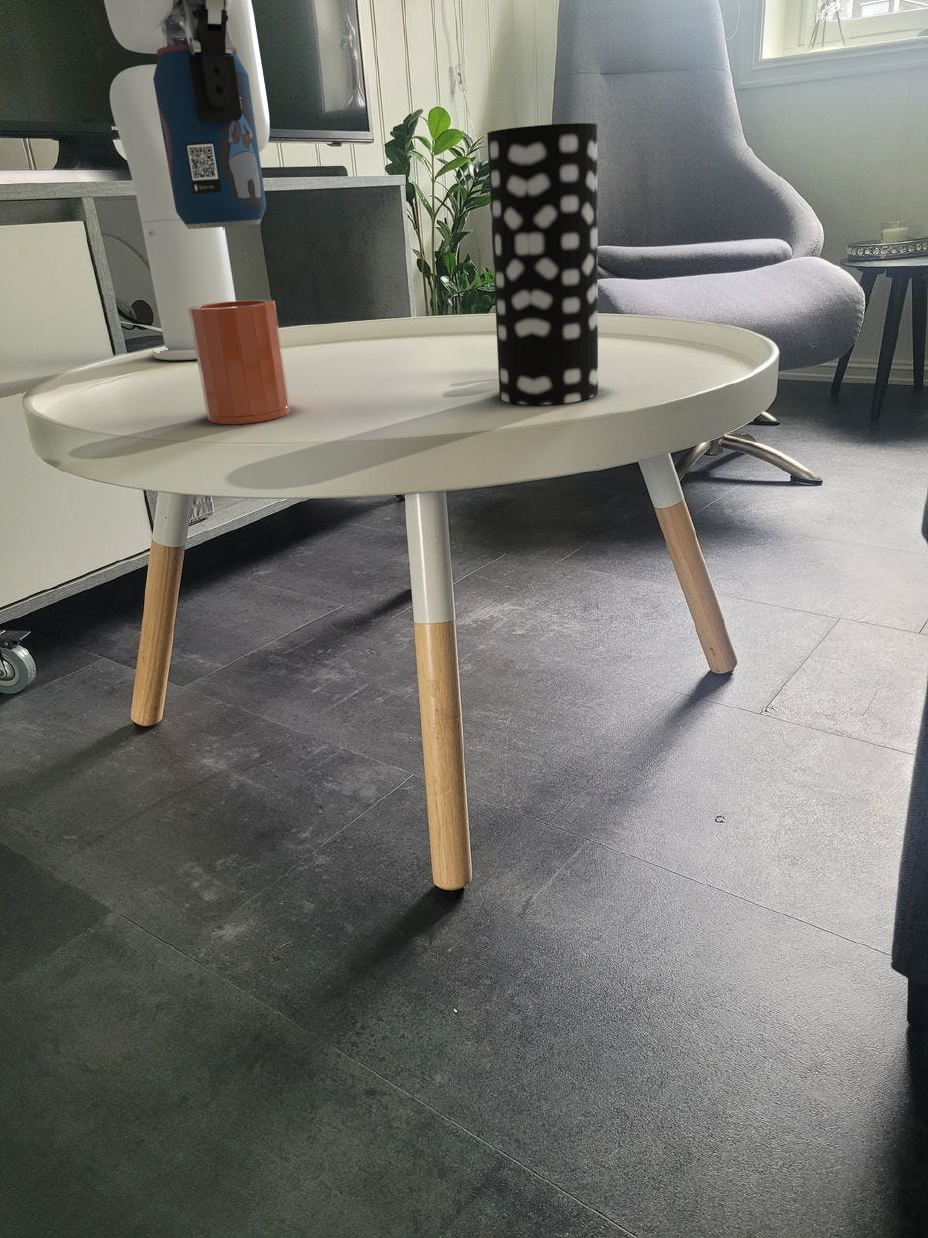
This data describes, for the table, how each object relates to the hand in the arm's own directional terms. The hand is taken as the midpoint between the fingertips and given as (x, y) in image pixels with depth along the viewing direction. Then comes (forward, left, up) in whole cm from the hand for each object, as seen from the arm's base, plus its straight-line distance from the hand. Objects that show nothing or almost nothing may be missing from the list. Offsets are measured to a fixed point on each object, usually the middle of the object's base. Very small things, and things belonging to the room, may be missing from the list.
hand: (207, 123), depth 69 cm
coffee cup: (0, 0, -22) cm, 22 cm away
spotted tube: (+11, +23, -22) cm, 34 cm away
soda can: (0, 0, -7) cm, 7 cm away
